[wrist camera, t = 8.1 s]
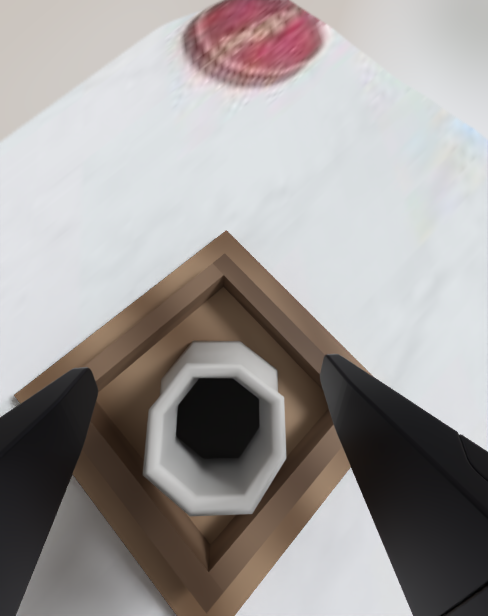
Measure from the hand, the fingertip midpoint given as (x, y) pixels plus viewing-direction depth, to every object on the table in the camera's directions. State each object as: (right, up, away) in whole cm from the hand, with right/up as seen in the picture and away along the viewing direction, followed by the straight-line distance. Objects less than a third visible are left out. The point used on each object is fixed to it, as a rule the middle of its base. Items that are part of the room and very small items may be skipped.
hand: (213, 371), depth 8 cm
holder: (-1, -4, +8) cm, 9 cm away
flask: (0, -4, +8) cm, 8 cm away
